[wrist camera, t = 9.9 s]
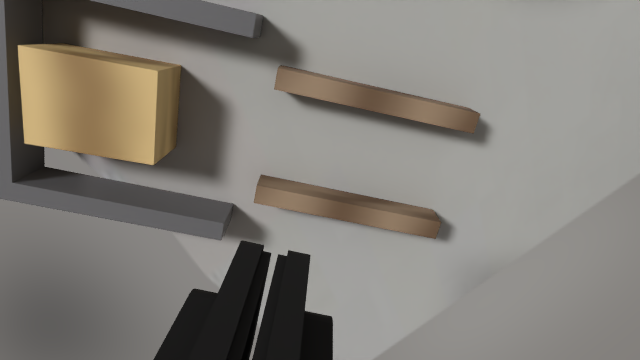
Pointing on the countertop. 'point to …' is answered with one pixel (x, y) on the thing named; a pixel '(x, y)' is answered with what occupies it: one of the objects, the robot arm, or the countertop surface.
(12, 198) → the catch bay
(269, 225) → the countertop surface
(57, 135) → the ochre block
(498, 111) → the countertop surface
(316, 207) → the chute
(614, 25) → the countertop surface
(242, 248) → the robot arm
